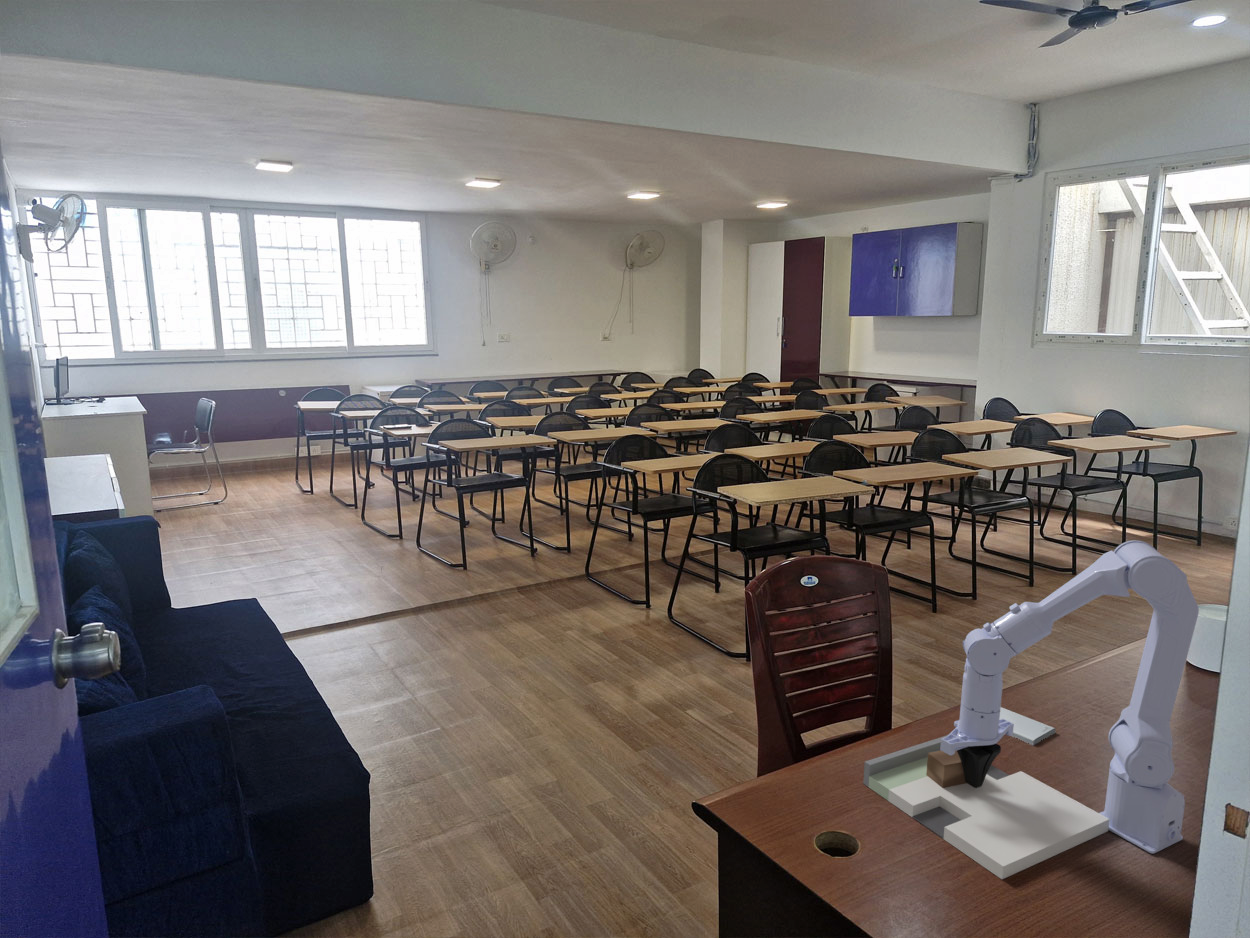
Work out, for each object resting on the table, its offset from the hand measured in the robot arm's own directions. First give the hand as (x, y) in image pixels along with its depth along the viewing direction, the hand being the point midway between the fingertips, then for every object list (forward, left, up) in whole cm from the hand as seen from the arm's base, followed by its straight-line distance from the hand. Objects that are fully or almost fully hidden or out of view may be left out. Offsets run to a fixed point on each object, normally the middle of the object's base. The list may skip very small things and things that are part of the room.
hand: (973, 784), depth 128 cm
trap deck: (-2, 0, -3) cm, 3 cm away
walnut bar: (+4, 0, -1) cm, 4 cm away
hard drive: (+14, -28, -4) cm, 32 cm away
